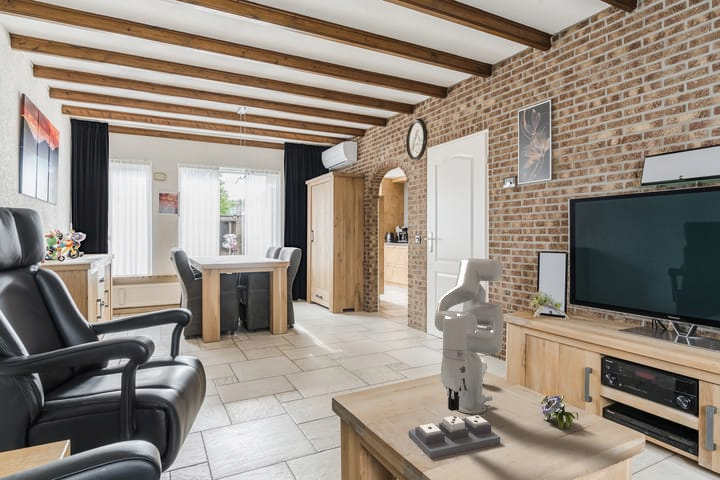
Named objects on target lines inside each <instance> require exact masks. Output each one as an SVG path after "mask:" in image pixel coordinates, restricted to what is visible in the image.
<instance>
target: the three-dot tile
mask: <svg viewBox="0 0 720 480" xmlns="http://www.w3.org/2000/svg"><path fill="white" fill-rule="evenodd" d="M442 422H443V425H444V426H445V427H447V428H448V429H449V430H450V431H456V430H461V429H465V422H464V421H463V420H462V419H461V418H460V417H459V416H457V415H453V416H452V415H451V416H445V417H442Z"/></svg>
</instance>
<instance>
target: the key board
mask: <svg viewBox="0 0 720 480" xmlns="http://www.w3.org/2000/svg"><path fill="white" fill-rule="evenodd" d="M461 420H463V421H464V422H465V429H461V430H456V431H450V430H449V429H448V428H447V427H445V426H444V425H443V421H442V422H439V423H438V424H436V425H435V424H434V425H435V426H436V427H438V428H439V429H440V430H441V433H440V434H435V435H430V436H426V435H425V434H424V433H423V432H422V431H421V430H420V429H419V426H415V428H413V429H409V430H408V437H409V438H410V440H412V441H413V443H414V444H415V445H416V446H417V447H418V448H420V450H421V451H422V452H423V453H424V454H426V456H427V457H428V458H429V459H432V458H438V457H442V456H446V455H451V454H456V453H460V452H464V451H465V452H466V451H469V450H471V451H472V450H475V449H479V448H483V447H489V446H493V445H497V444H500V443H501V436H500V435H498V434H496V433H495V432H494V431H492V424H491V423H490V422H488V424H487V425H482V426H476V427H474V426H473V425H472V424H470V423H469V422H468V421H466V417H465V418H462V419H461Z"/></svg>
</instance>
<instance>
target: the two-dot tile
mask: <svg viewBox="0 0 720 480" xmlns="http://www.w3.org/2000/svg"><path fill="white" fill-rule="evenodd" d="M465 418H466V421H468V422H469V423H470V424H472V425H473V426H474V427H476V426H482V425H487V424H488V423H489V421H488V420H486V419H485V418H483V417H481V415H479V414H475V415H472V416H466V417H465Z"/></svg>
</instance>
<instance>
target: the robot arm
mask: <svg viewBox="0 0 720 480" xmlns="http://www.w3.org/2000/svg"><path fill="white" fill-rule="evenodd" d="M457 273H458V274H457V277H456V282H455V285H454V288H452V289H450V290H449V291H447V292H446V293H445V294H444V295H443V296H442V297H441V299H440V300H439V301H438V304H437V307H436V311H435V315H434V326H435V329H437V331H439V332H442V358H441V368H440V379H441V380H440V381H441V383H442V384H443V387H444V388H445V390H446V396H447V397H448V398H447V409H448V410H449V411H451V412H454V411H458V412H461V413H463V414H464V413H465V414H468V415H469V414H470V415H479V414H483V413H486V411H487V405H486V403H487V402H492V401H493V399H494V398H493V395H487V396H486V394H485V393H484V394H483V383H482V374H483V365H482V361H481V360H482V359H481V358H480V356H479V354H485V355H499V354H500V353H501V352H502V349H503V340H504V337H503V336H504V324H505V323H504V320H505V313H504V308H503V307H502V305H501V304H499V303H496V302H486V297H487V292H486V289H485V288H484V286H483V285H482V284H481V282H493V283H494V282H497V281H499V280H501V278H502V276H503V273H504V267H503V263H502V261H501V260H500V259H495V258H465V259H462V260H461V261H460V262H459V267H458V272H457ZM460 304H462V311H457V310H450V309H451V308H453V307H454V306H458V305H460ZM485 327H487V328H485ZM488 327H489V328H488Z"/></svg>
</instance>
